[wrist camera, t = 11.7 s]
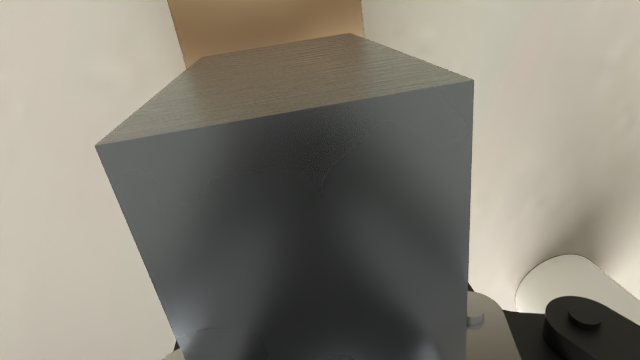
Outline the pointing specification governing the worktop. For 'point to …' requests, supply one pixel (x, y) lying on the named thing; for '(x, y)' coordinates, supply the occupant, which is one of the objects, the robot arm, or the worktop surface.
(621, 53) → the worktop surface
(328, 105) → the aluminium block
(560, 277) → the cylindrical container
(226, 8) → the oak ledge
